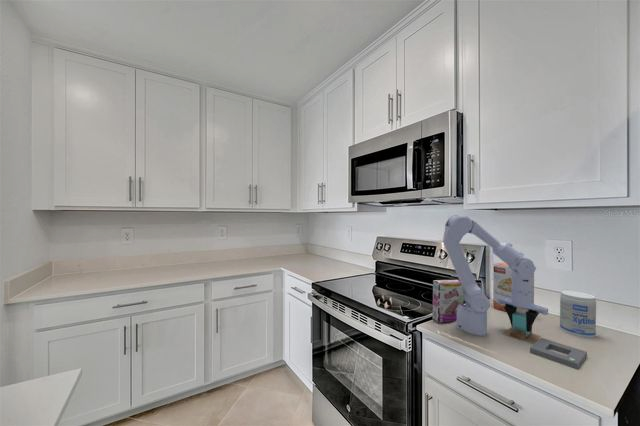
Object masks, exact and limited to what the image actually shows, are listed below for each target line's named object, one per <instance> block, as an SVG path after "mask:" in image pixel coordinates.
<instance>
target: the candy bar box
mask: <svg viewBox="0 0 640 426" xmlns="http://www.w3.org/2000/svg"><path fill="white" fill-rule="evenodd" d="M460 306H465V301H464V299H463V290H462V284H461V282H460V280H459V279H436V280H435V279H434V280H432V320H433V321H435V322H436V323H437V324H449V323H455V322H457V310H458V308H459V307H460Z"/></svg>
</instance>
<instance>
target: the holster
mask: <svg viewBox="0 0 640 426" xmlns="http://www.w3.org/2000/svg"><path fill="white" fill-rule="evenodd" d="M501 335H504V336H508V337H512V338H515V339H517V340H520V341H524V342H527V343H528V344H532V345H534V344H535V343H536V342H537V341H538V340H539V339H541V338H542V335H539V334H536V333H533V328H532V329H531V331H530V335H529V336H527V337H526V332H525V331H522V330H518V329H515V328H512V327H509V328H508V329H506V330H505V331H504V332H502V333H501ZM525 337H526V338H525Z"/></svg>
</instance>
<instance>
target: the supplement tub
mask: <svg viewBox="0 0 640 426" xmlns="http://www.w3.org/2000/svg"><path fill="white" fill-rule="evenodd" d="M559 301H560V302H559V329H560V330H561V331H563V332H565V333H567V334H570V335H573V336H577V337H582V338H595V337H596V334H597V333H596V332H597V328H596V327H597V297H596V296H595V295H593V294H590V293H587V292H586V293H585V292H581V291H577V290H576V291H575V290H562V291H560V300H559Z"/></svg>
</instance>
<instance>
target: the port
mask: <svg viewBox="0 0 640 426" xmlns="http://www.w3.org/2000/svg"><path fill="white" fill-rule="evenodd" d="M550 349H551V350H550ZM552 350H553V351H552ZM529 353H530V354H533V355H536V356H539V357H541V358H545V359H547V360H551V361H552V362H555V363H559V364H562V365H565V366H567V367H570V368H573V369H576V370H579V369H580V368H581V366H582V365H583V364H584V362H585V361H586V359H587V357H588V351H587V350H583V349H579V348H575V347H573V346H569V345H566V344H563V343H560V342H557V341H553V340H551V339H547V338H543V337H540V338H538V339H537V340H536V341H535V342H534V343H533V344H532V345H531V346H530V347H529Z"/></svg>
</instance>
